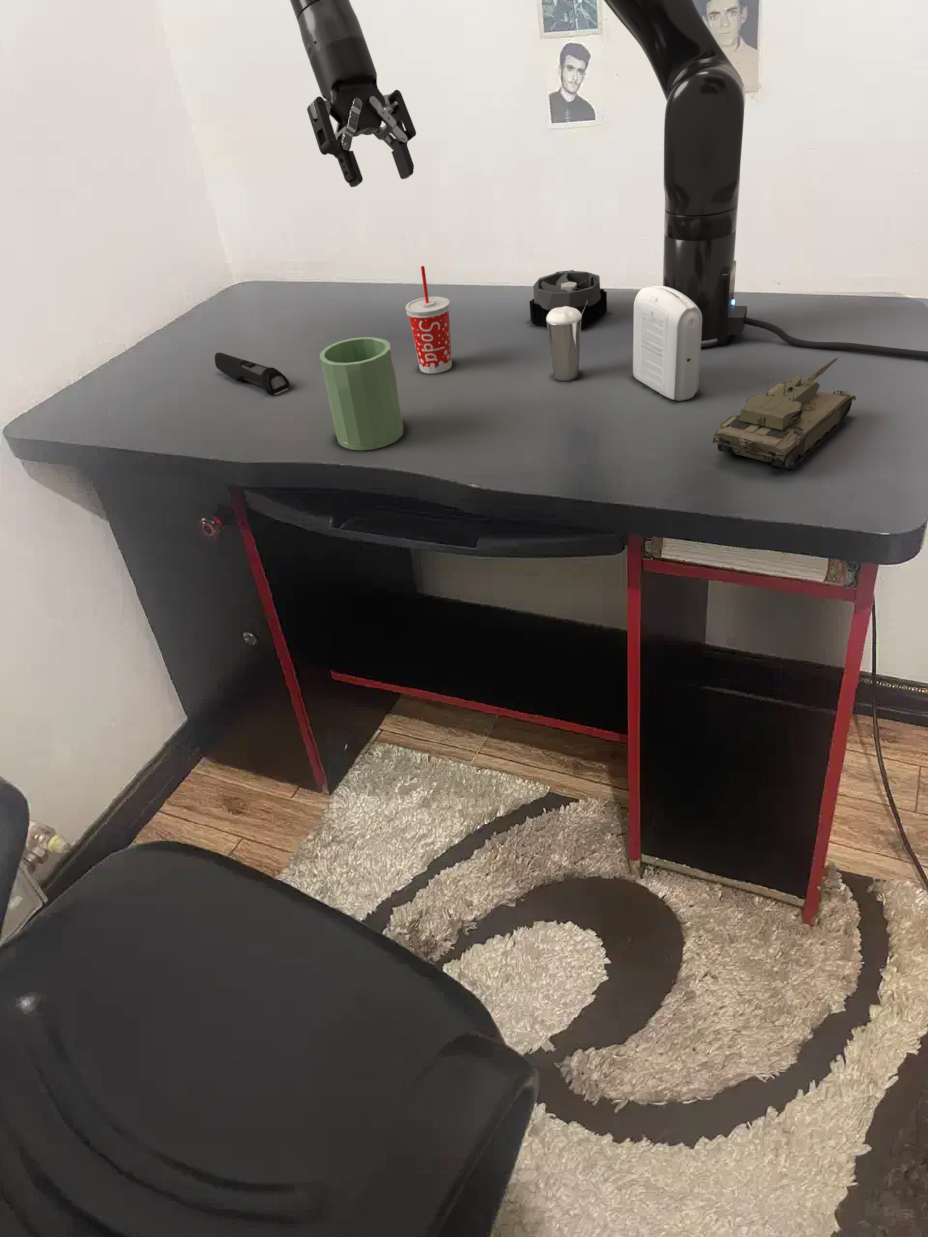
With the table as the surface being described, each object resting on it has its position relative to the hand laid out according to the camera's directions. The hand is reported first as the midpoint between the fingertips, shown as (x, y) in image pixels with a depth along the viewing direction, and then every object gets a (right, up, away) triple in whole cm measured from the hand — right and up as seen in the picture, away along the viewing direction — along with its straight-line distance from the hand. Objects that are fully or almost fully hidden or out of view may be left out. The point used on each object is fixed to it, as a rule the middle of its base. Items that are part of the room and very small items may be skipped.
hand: (383, 180), depth 119 cm
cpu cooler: (+27, -11, +21) cm, 36 cm away
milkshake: (+25, -25, +4) cm, 35 cm away
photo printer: (+36, -27, -2) cm, 45 cm away
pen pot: (-1, -34, -4) cm, 34 cm away
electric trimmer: (-20, -23, +15) cm, 34 cm away
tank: (+47, -36, -16) cm, 62 cm away
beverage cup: (+7, -21, +12) cm, 25 cm away
